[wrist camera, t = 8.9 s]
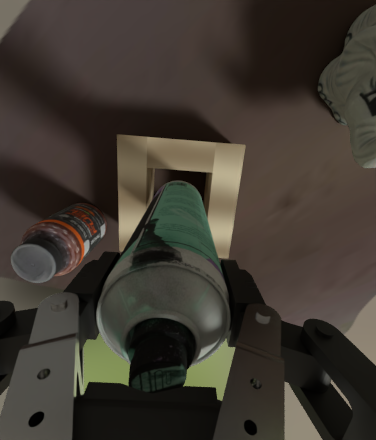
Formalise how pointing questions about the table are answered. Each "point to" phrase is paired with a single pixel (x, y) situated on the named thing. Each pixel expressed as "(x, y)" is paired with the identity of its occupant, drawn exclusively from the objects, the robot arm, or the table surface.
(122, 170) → the tube block
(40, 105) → the table surface
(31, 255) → the supplement bottle
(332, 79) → the grey animal cookie jar
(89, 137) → the table surface
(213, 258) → the spray can
